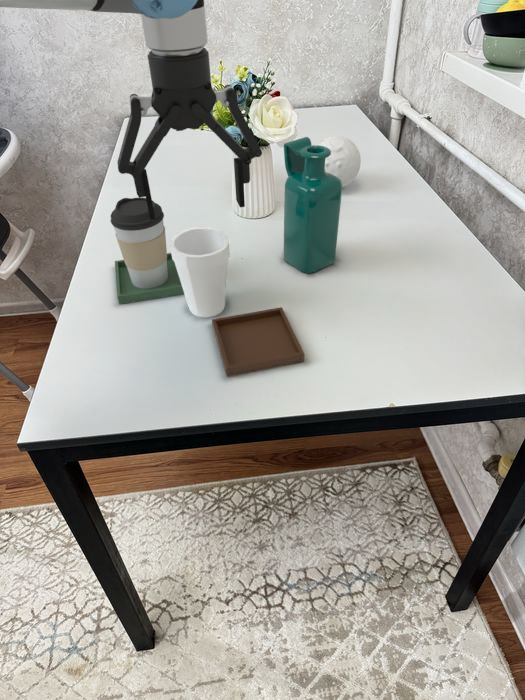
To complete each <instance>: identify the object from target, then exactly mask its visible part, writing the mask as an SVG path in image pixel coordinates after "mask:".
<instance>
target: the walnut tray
mask: <svg viewBox="0 0 525 700" xmlns="http://www.w3.org/2000/svg"><path fill="white" fill-rule="evenodd" d="M211 325H212V330H213V334H214V337H215V340H216V343H217V347H218V350H219V354H220V358H221V360H222V364H223V368H224V371H225V374H226V377H233V376H238V375H243V374H248V373H249V374H250V373H253V372H258V371H259V372H260V371H263V370H268V369H274V368H278V367H284V366H289V365H294V364H300V363H304V362H305V352H304V350H303V348H302V346H301V344H300V341H299V340H298V338H297V335H296V334H295V331H294V330H293V327H292V325H291V323H290V321H289V319H288V317H287V314H286V312H285V310H284V309H283V307H275V308H270V309H269V308H268V309H263V310H257V311H252V312H246V313H240V314H233V315H229V316H224V317H218V318H217V317H216V318H212V319H211Z"/></svg>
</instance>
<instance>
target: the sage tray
mask: <svg viewBox="0 0 525 700" xmlns="http://www.w3.org/2000/svg"><path fill="white" fill-rule="evenodd" d="M114 269H115V270H114V271H115V284H116V296H117V297H116V298H117V302H118V305H124V304H129V303H136V302H142V301H148V300H154V299H160V298H161V299H162V298H166V297H173V296H180V295H185V294H184V291H183V288H182V285H181V282H180V278H179V275H178V272H177V269H176V266H175V262H174V261H173V260H172V255H171V252H167V271H168V279H167V280H166V282H165V283H163V284H162V285H160V286H158V287H155V288H149V289H143V288H138V287H136V286H134V285H133V283H132V281H131V278H130V275H129V272H128V269H127V266H126V264H125V262H124V259H119V260H115V261H114Z"/></svg>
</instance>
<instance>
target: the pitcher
mask: <svg viewBox="0 0 525 700" xmlns="http://www.w3.org/2000/svg"><path fill="white" fill-rule="evenodd" d="M330 155H331V150H330V149H328V148H327V147H324V146H319V145H318V144H316V145H313V144H312V141H311V138H310V137H308V136H304V137H301V138H298V139H293V140H291V141H287V142H285V143H283V157H284V166H285V171H286V174H287V178H286V180H285V182H284V203H283V204H284V209H283V259H284V261H285V262H286V263H288V264H289V265H291V266H293V267H294V268H295V269H297V270H298V271H301V272H302V273H304V274H313V273H315V272H318V271H320V270H322V269H325V268H326V267H328V266H330V265H333V264H334V263H335V261H336V255H337V245H338V244H337V243H338V236H339V235H338V234H339V226H340V225H339V224H340V217H341V216H340V214H341V204H342V194H343V188H342V182H341V180H340V179H339V178H338V177H336V176H334V175H332V174H330V173H328V172H326V171H325V158H327V157H329V156H330Z"/></svg>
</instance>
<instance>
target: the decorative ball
mask: <svg viewBox="0 0 525 700" xmlns="http://www.w3.org/2000/svg"><path fill="white" fill-rule="evenodd" d="M317 145H319V146H324V147H327V148H328V149H330V150H331V155H330V156H329V157H327V158H325V171H326V172H328V173H330V174H332V175H334V176H336V177H338V178H339V179H340V180H341V182H342V189H343V188H345V187H347V186H348V185H350V184H351V183H353V181H354V180H355V179H356V177H357V176H358V174H359V172H360V169H361V163H362V161H361V160H362V158H361V153H360V150H359V149H358V146H357V144H355V143H354V142H353V140H351V139H349V138H347V137H345V136H341V135H333V136H329V137H326V138H325V139H323V140H321V141H320V142H319V143H317Z"/></svg>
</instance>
